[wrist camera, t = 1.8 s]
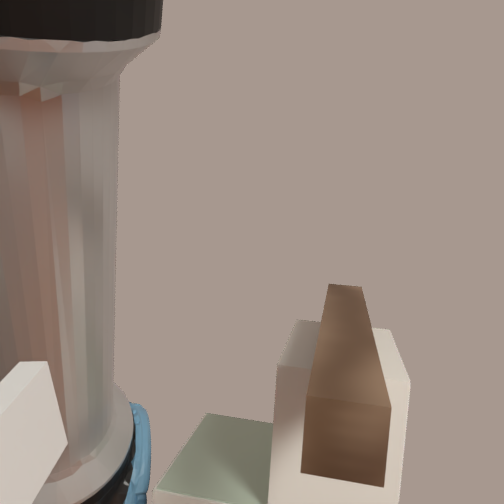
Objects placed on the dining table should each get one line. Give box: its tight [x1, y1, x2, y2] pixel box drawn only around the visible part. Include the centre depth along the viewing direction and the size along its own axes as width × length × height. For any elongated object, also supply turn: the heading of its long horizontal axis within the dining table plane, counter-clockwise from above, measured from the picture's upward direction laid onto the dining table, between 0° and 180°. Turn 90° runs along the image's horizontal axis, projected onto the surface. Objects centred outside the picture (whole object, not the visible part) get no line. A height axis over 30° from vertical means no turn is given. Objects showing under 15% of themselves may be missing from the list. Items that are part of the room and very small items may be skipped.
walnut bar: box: [300, 284, 392, 488], centre depth 29 cm, size 3×26×3 cm, turn 168°
